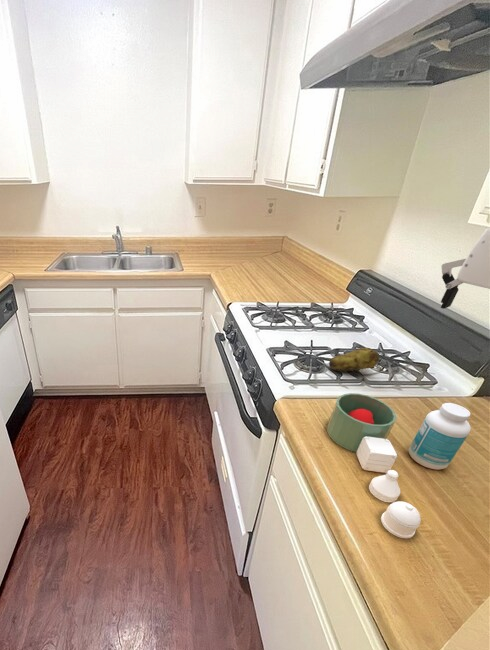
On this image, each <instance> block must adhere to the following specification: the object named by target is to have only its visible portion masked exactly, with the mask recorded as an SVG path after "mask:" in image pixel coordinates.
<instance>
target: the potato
mask: <svg viewBox="0 0 490 650" xmlns="http://www.w3.org/2000/svg"><path fill="white" fill-rule="evenodd" d="M379 361H380V355H379V353H378V352H377V350H375V349H373V348H371V347H361V348H358V349H355V350H352V351H349V352H347V353H343V354H342V353H341V354H339V355H335V356H333V357H331V358H330V359H329V362H328V366H329V368H330V369H331V370H334V371H336V372H337V371H339V372H340V371H343V372H352V371H351V370H355V371H359V370H364V369H365V370H366V369H371V370H373V369H375V366H376V365H377V364H378V363H379Z"/></svg>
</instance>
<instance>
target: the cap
mask: <svg viewBox="0 0 490 650" xmlns="http://www.w3.org/2000/svg"><path fill="white" fill-rule="evenodd" d="M348 415H349V416H351V417H353V418H354V419H356V420H359V421H362V422H364V423H369V424H374V421H373V418H372V417H373V414H372V412H370V411H369V410H366V409H357V410H354V411H351V412H349V413H348Z"/></svg>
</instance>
